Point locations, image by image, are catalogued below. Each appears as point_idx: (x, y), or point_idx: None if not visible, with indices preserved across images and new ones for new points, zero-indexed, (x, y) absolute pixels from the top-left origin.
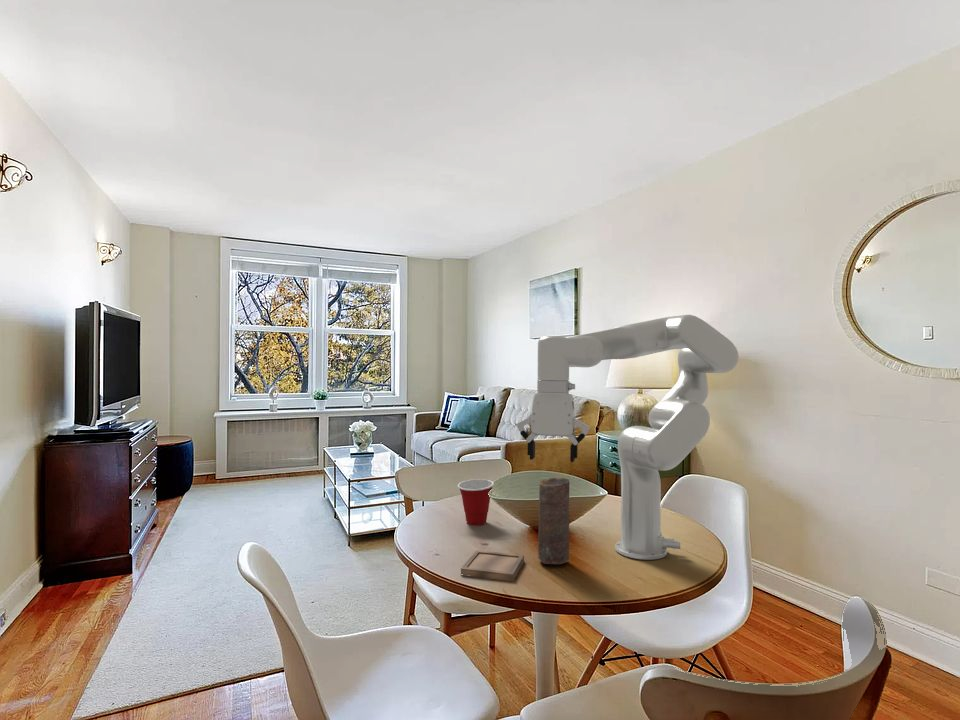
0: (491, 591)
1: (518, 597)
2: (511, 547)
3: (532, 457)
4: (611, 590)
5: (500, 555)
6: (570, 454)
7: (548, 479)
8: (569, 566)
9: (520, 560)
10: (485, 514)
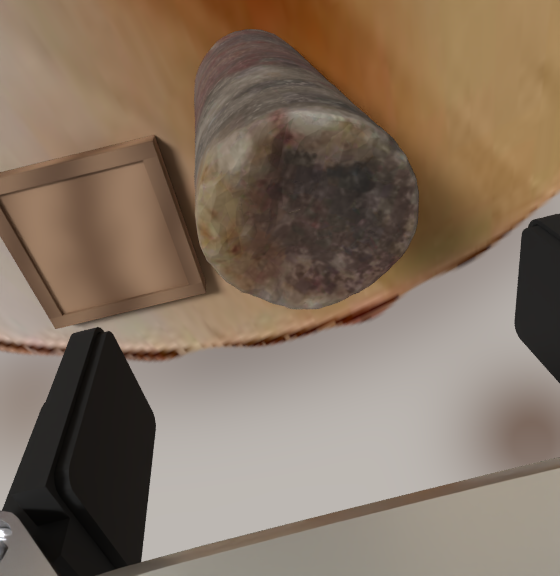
0: (190, 349)
1: (260, 343)
2: (14, 4)
3: (153, 434)
4: (460, 205)
5: (74, 174)
6: (557, 379)
7: (242, 184)
8: None
9: (168, 192)
10: None
